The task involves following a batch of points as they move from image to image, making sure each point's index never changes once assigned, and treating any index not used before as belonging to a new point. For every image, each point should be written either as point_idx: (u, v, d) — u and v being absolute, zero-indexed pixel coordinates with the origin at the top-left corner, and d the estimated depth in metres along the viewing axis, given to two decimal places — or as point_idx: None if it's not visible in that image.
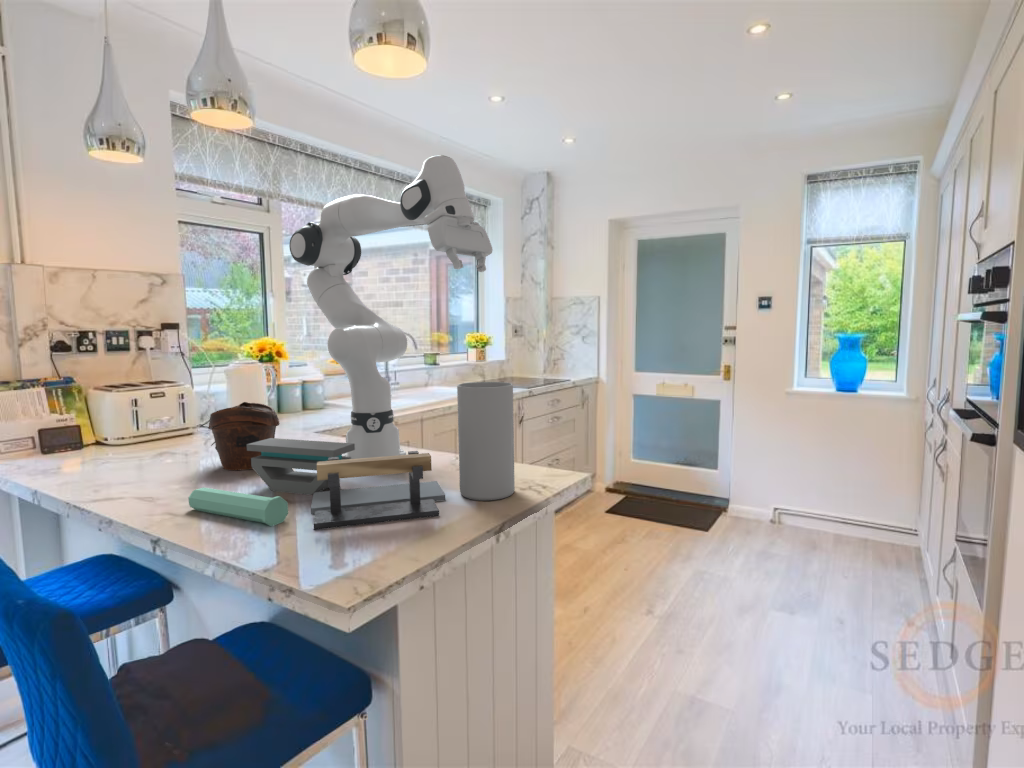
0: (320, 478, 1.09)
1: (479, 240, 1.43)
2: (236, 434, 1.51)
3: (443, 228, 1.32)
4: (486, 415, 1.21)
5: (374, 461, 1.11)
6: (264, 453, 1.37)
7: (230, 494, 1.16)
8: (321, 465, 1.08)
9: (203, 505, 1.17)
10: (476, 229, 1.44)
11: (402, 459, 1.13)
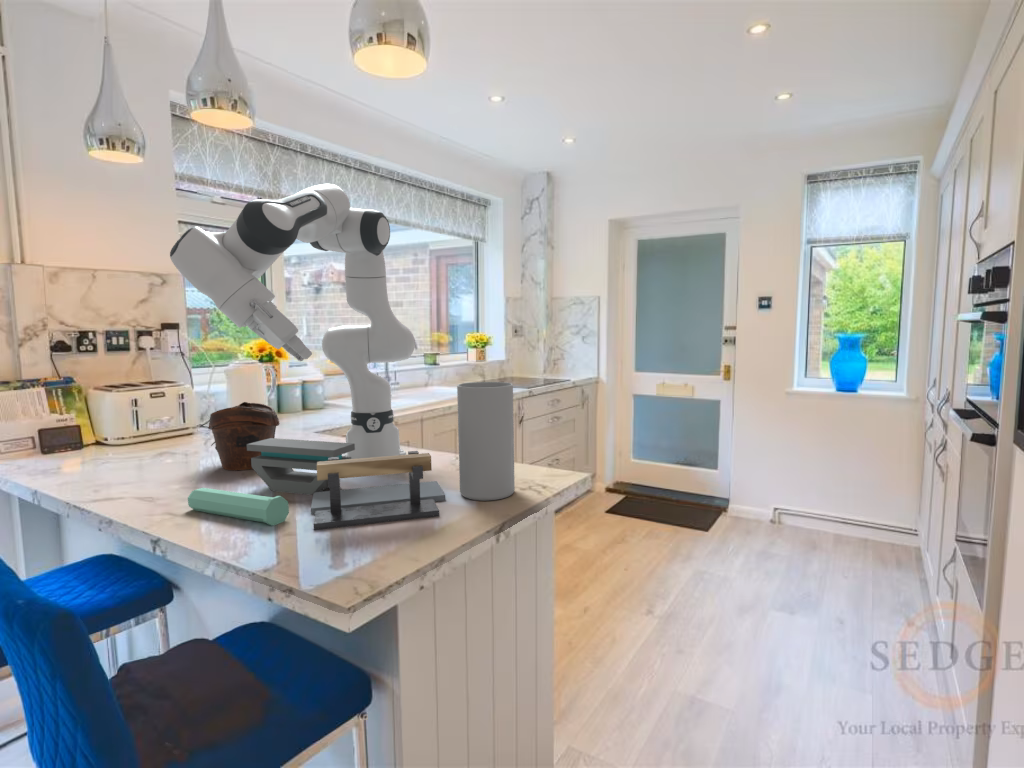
0: (320, 478, 1.09)
1: (271, 334, 1.03)
2: (235, 434, 1.51)
3: (261, 337, 1.15)
4: (486, 415, 1.21)
5: (374, 461, 1.11)
6: (264, 453, 1.37)
7: (230, 494, 1.16)
8: (321, 465, 1.08)
9: (203, 505, 1.17)
10: (257, 321, 1.02)
11: (402, 459, 1.13)
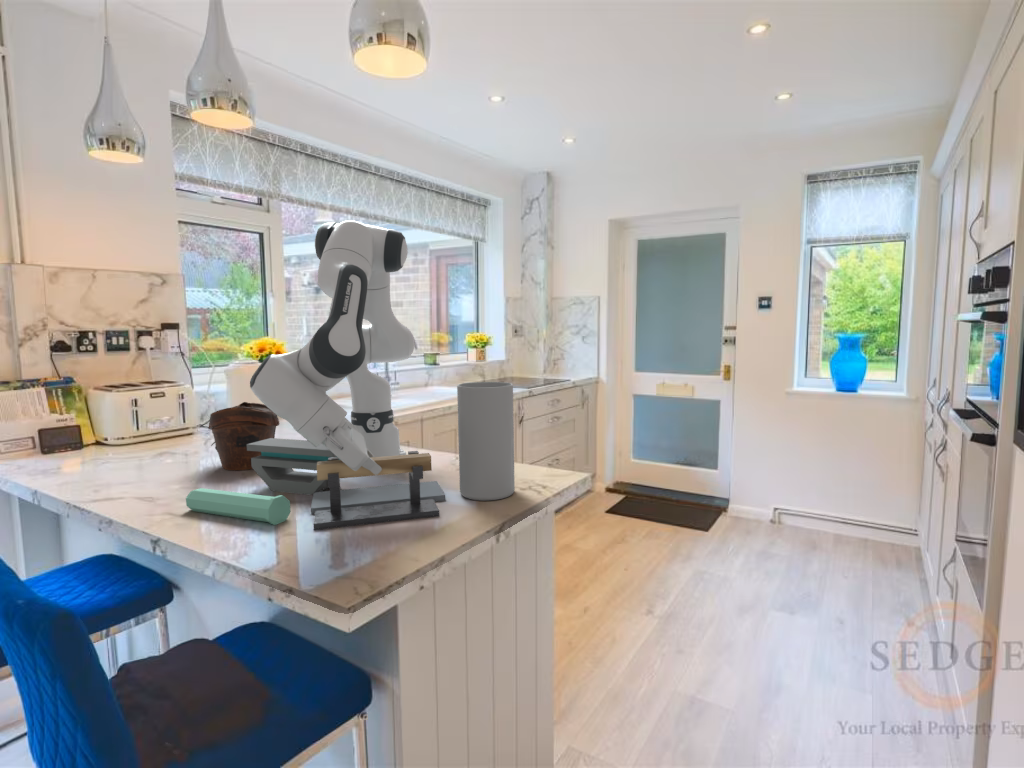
0: (320, 478, 1.09)
1: None
2: (235, 434, 1.51)
3: None
4: (486, 415, 1.21)
5: None
6: (264, 453, 1.37)
7: (230, 494, 1.16)
8: (321, 465, 1.08)
9: (202, 506, 1.17)
10: None
11: (402, 459, 1.13)
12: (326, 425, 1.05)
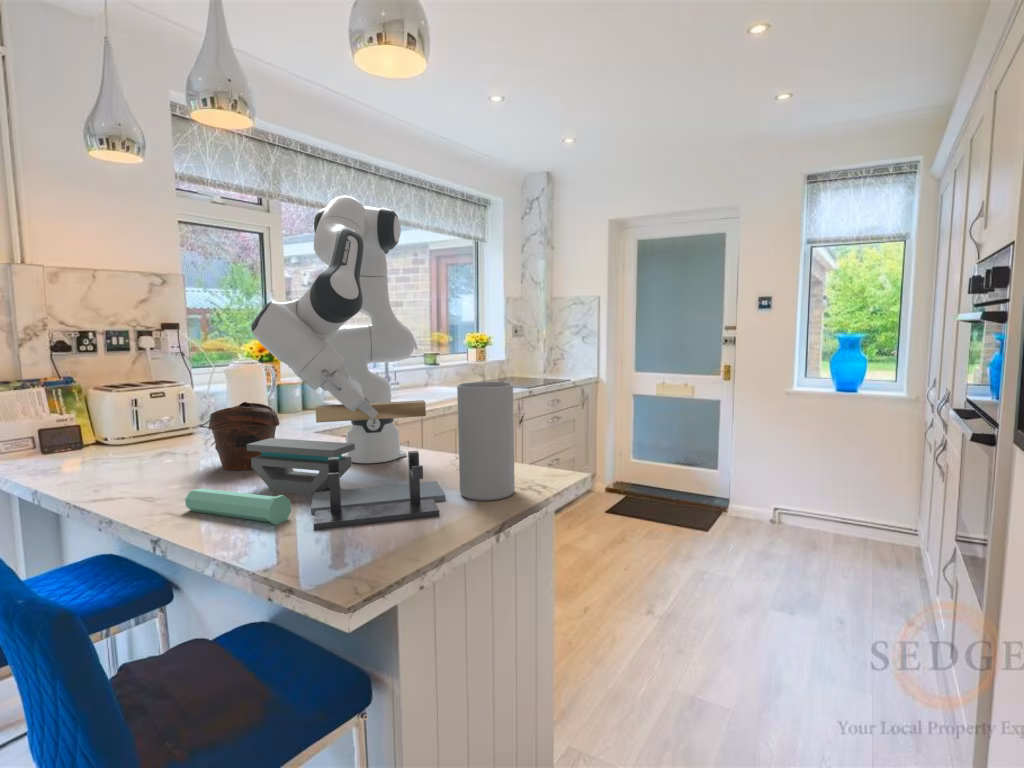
0: (319, 420, 1.14)
1: None
2: (235, 434, 1.51)
3: None
4: (486, 415, 1.21)
5: None
6: (264, 453, 1.37)
7: (230, 494, 1.16)
8: (320, 408, 1.13)
9: (202, 506, 1.17)
10: None
11: (397, 404, 1.18)
12: (325, 368, 1.10)
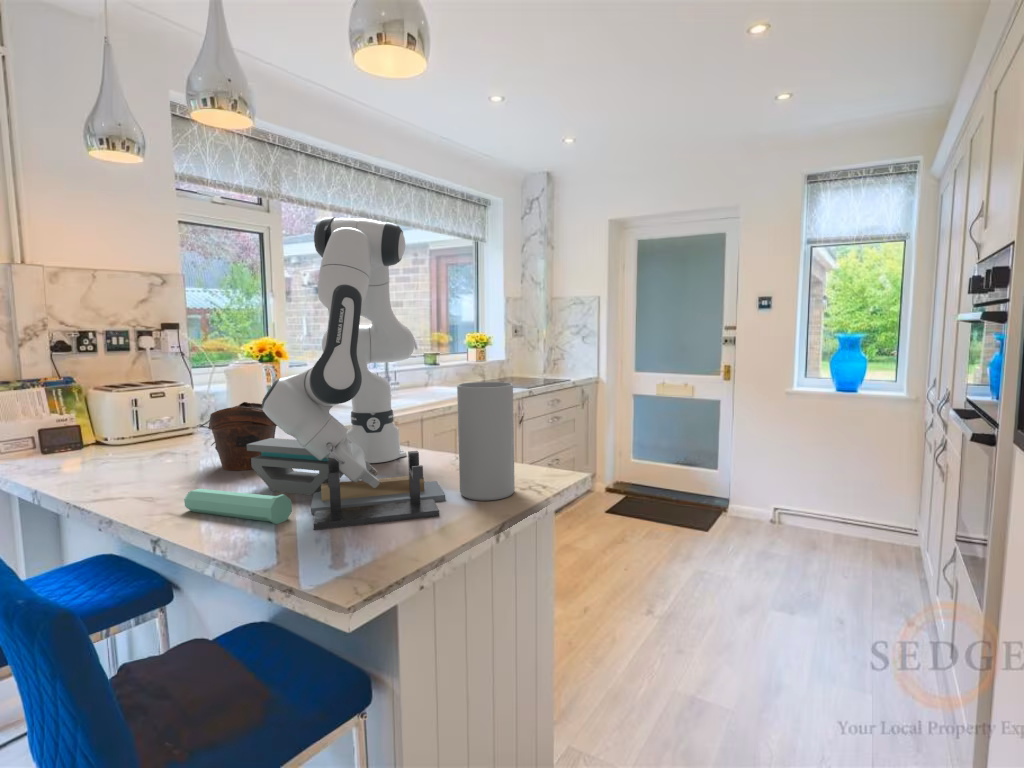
0: (324, 499, 1.21)
1: None
2: (235, 434, 1.51)
3: None
4: (486, 415, 1.21)
5: None
6: (264, 453, 1.37)
7: (230, 494, 1.16)
8: (325, 487, 1.21)
9: (201, 506, 1.17)
10: None
11: (398, 481, 1.25)
12: (329, 441, 1.18)
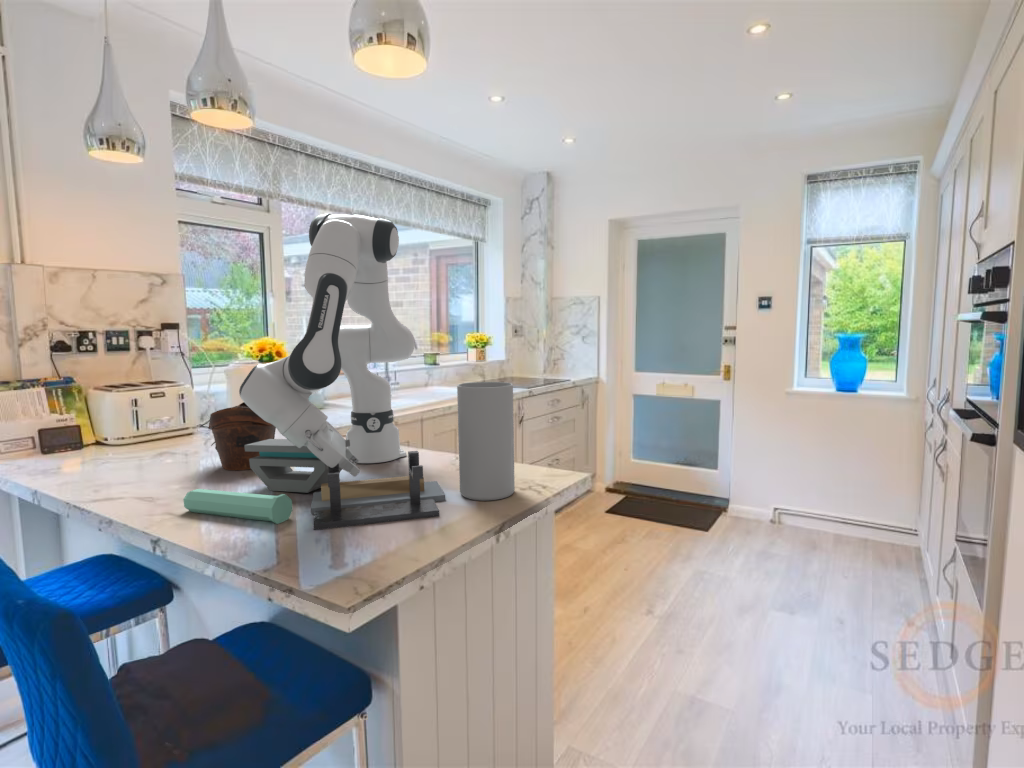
0: (324, 499, 1.21)
1: None
2: (235, 434, 1.51)
3: None
4: (486, 415, 1.21)
5: (372, 483, 1.24)
6: (262, 453, 1.37)
7: (230, 494, 1.16)
8: (325, 487, 1.21)
9: (201, 506, 1.17)
10: None
11: (398, 481, 1.25)
12: (308, 429, 1.16)
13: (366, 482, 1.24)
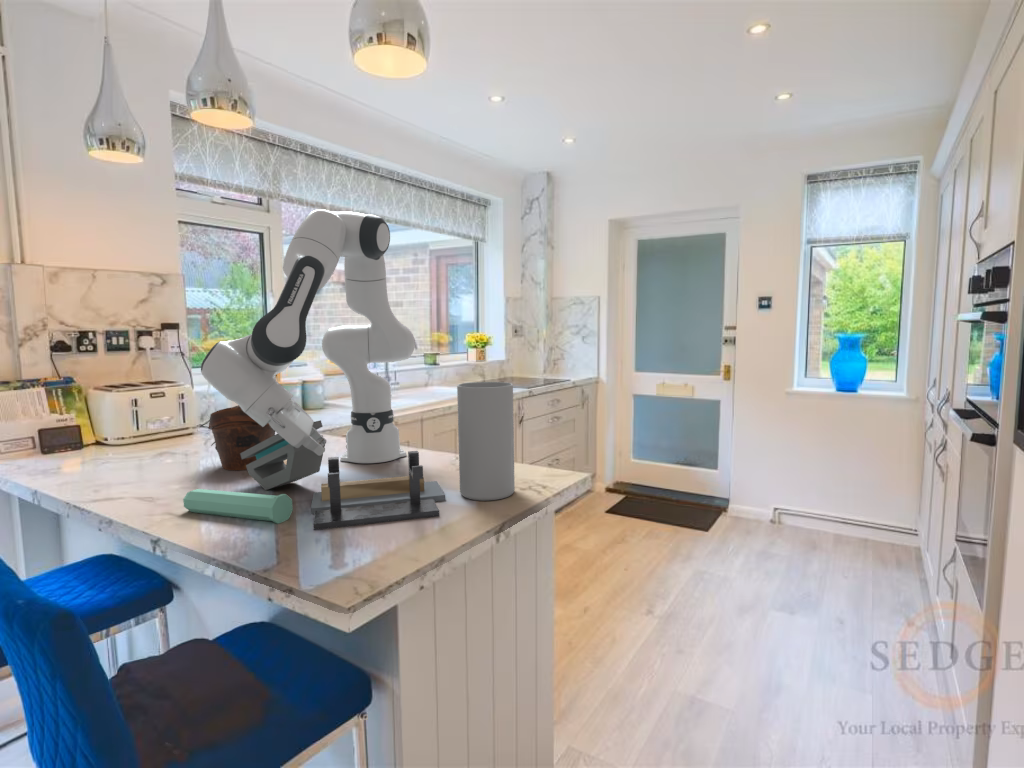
0: (324, 499, 1.21)
1: None
2: (236, 434, 1.51)
3: None
4: (486, 415, 1.21)
5: (372, 483, 1.24)
6: (258, 458, 1.39)
7: (230, 494, 1.16)
8: (325, 487, 1.21)
9: (201, 506, 1.16)
10: None
11: (398, 481, 1.25)
12: (271, 406, 1.14)
13: (366, 482, 1.24)
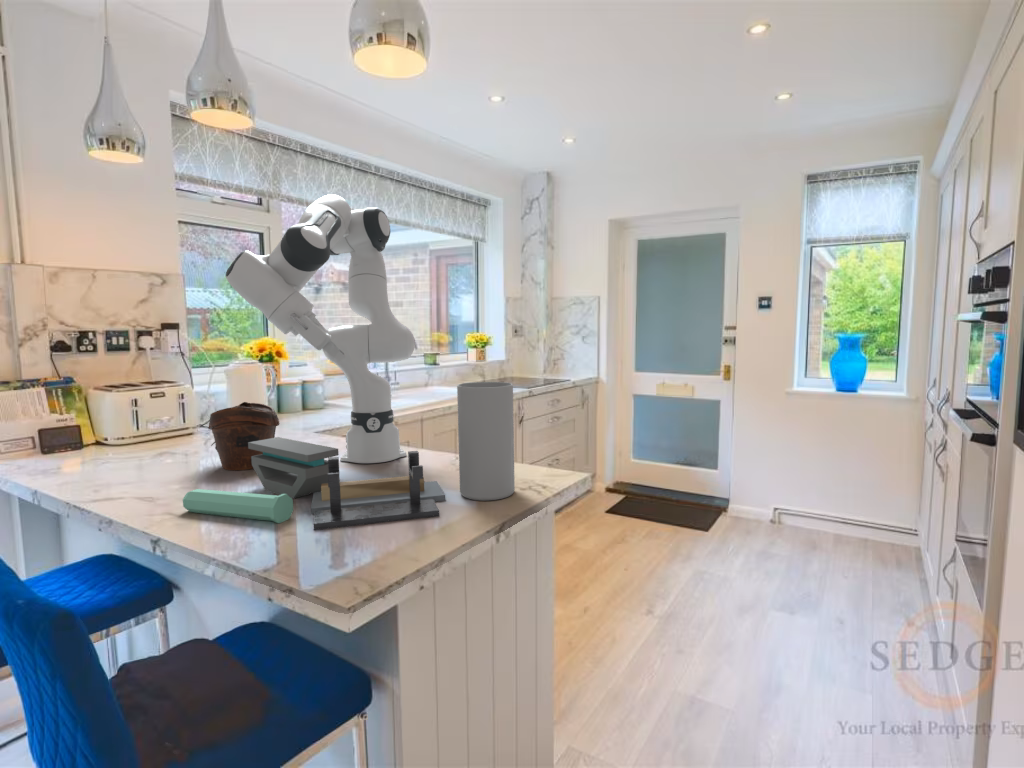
0: (324, 499, 1.21)
1: None
2: (235, 434, 1.51)
3: None
4: (486, 415, 1.21)
5: (372, 483, 1.24)
6: (265, 452, 1.38)
7: (231, 494, 1.16)
8: (325, 487, 1.21)
9: (201, 506, 1.16)
10: None
11: (398, 481, 1.25)
12: (294, 312, 1.19)
13: (366, 482, 1.24)
